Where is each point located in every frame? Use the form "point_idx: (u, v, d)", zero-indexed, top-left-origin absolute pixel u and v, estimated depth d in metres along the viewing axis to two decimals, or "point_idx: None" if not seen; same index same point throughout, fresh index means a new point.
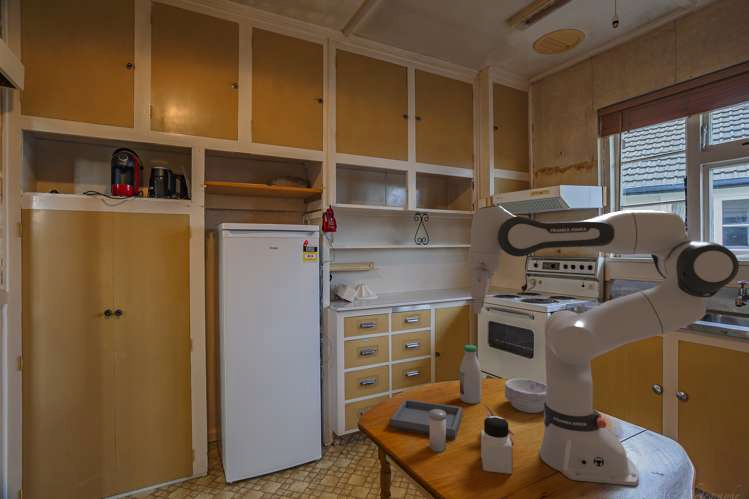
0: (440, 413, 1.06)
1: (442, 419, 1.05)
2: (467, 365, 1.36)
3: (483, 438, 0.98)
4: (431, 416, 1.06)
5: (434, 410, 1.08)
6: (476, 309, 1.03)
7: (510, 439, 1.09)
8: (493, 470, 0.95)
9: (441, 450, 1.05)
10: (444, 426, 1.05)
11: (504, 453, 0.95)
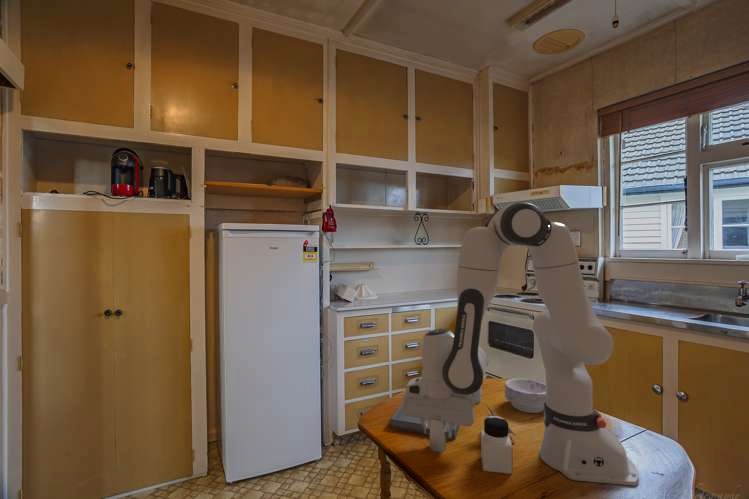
0: None
1: None
2: None
3: (483, 438, 0.98)
4: (431, 416, 1.06)
5: None
6: (450, 433, 1.05)
7: (511, 438, 1.09)
8: (493, 470, 0.95)
9: (441, 450, 1.05)
10: (444, 426, 1.05)
11: (504, 453, 0.95)
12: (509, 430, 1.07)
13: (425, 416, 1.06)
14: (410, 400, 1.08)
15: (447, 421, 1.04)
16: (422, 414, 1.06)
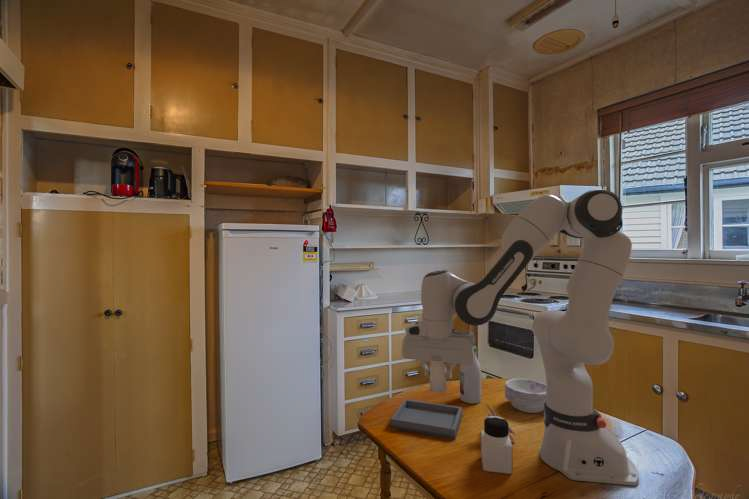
0: None
1: None
2: (467, 365, 1.36)
3: (483, 438, 0.98)
4: (431, 357, 1.05)
5: None
6: (451, 374, 1.05)
7: (511, 438, 1.09)
8: (493, 470, 0.95)
9: (441, 391, 1.04)
10: (444, 367, 1.05)
11: (504, 453, 0.95)
12: (509, 430, 1.07)
13: (425, 357, 1.06)
14: (409, 343, 1.07)
15: (447, 361, 1.04)
16: (422, 356, 1.06)
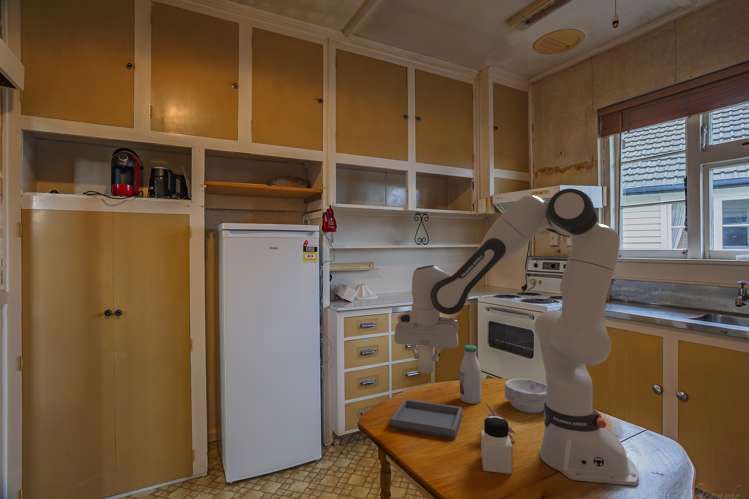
0: None
1: None
2: (467, 365, 1.36)
3: (483, 438, 0.98)
4: (420, 342, 1.18)
5: None
6: (437, 357, 1.18)
7: (511, 438, 1.09)
8: (493, 470, 0.95)
9: (429, 372, 1.17)
10: (431, 351, 1.18)
11: (504, 453, 0.95)
12: (510, 429, 1.07)
13: (415, 342, 1.19)
14: (401, 329, 1.20)
15: (434, 345, 1.17)
16: (412, 341, 1.19)
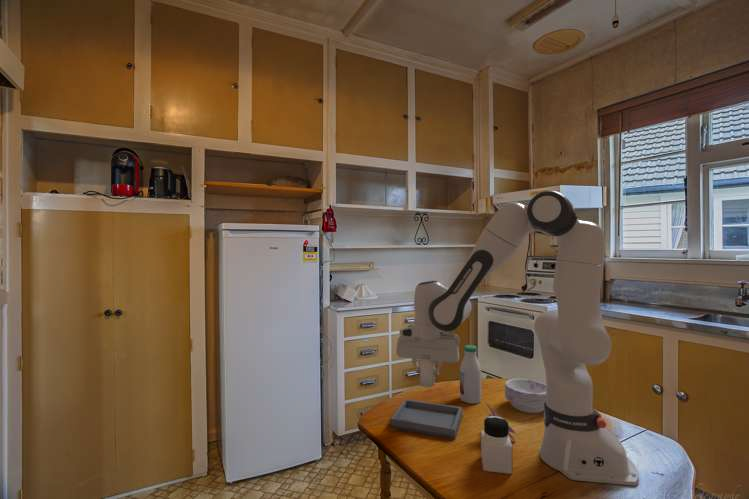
0: None
1: None
2: (467, 365, 1.36)
3: (483, 438, 0.98)
4: None
5: None
6: (438, 371, 1.20)
7: (511, 437, 1.10)
8: (493, 470, 0.95)
9: (430, 385, 1.20)
10: (433, 365, 1.20)
11: (504, 453, 0.95)
12: (510, 429, 1.07)
13: (416, 356, 1.21)
14: (403, 343, 1.23)
15: (435, 360, 1.19)
16: (414, 354, 1.21)
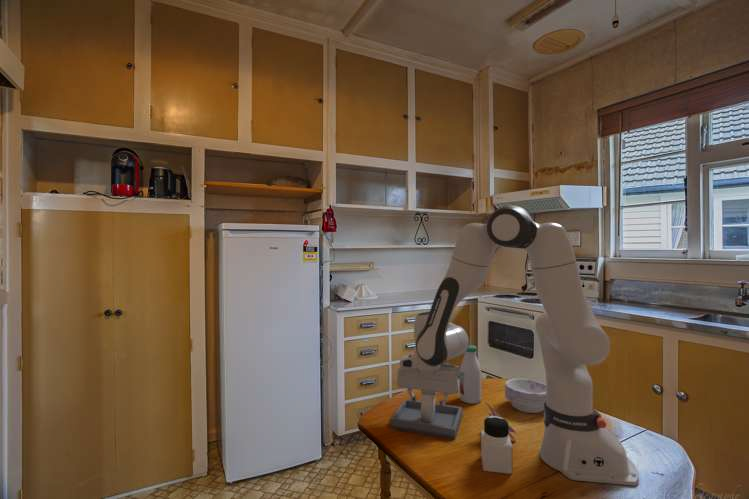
0: None
1: (432, 393, 1.20)
2: (467, 365, 1.36)
3: (483, 438, 0.98)
4: (422, 391, 1.21)
5: None
6: (444, 402, 1.20)
7: (512, 437, 1.10)
8: (493, 470, 0.95)
9: (431, 421, 1.20)
10: (434, 400, 1.20)
11: (504, 453, 0.95)
12: (510, 429, 1.08)
13: (417, 387, 1.21)
14: (403, 373, 1.23)
15: (436, 391, 1.19)
16: (414, 385, 1.22)
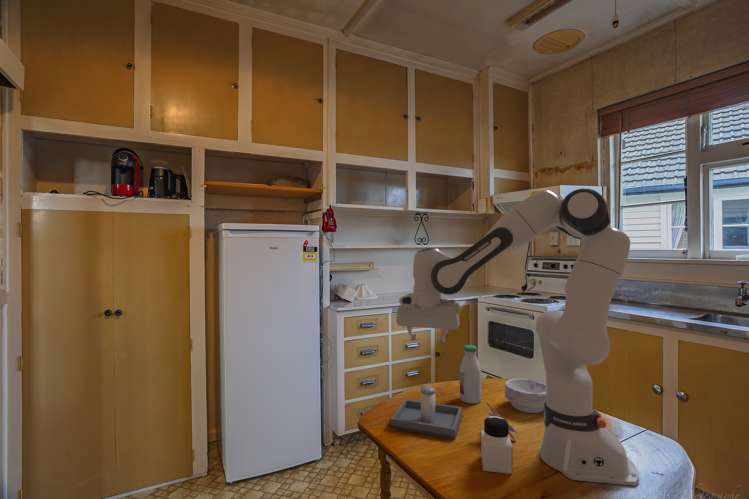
0: (430, 389, 1.21)
1: (432, 394, 1.20)
2: (467, 365, 1.36)
3: (483, 438, 0.98)
4: (422, 391, 1.21)
5: (425, 386, 1.23)
6: (444, 339, 1.19)
7: (512, 437, 1.10)
8: (493, 470, 0.95)
9: (431, 421, 1.20)
10: (433, 400, 1.20)
11: (504, 453, 0.95)
12: (511, 428, 1.08)
13: (416, 324, 1.21)
14: (403, 311, 1.22)
15: (435, 326, 1.19)
16: (414, 322, 1.21)
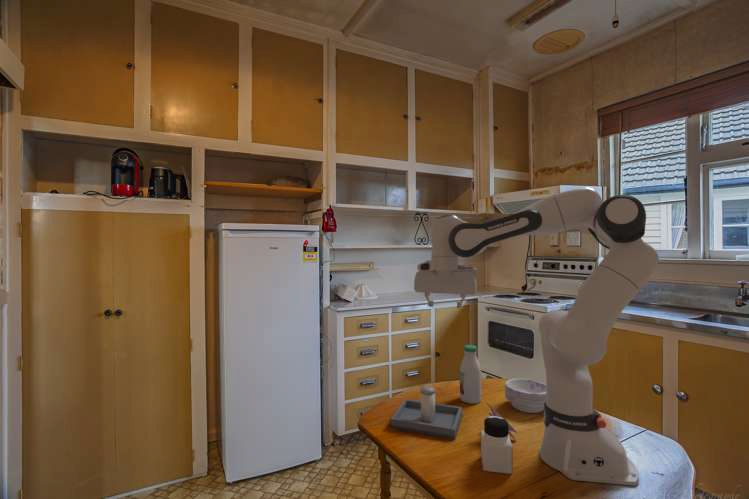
0: (430, 389, 1.21)
1: (431, 394, 1.20)
2: (467, 365, 1.36)
3: (483, 438, 0.98)
4: (422, 391, 1.21)
5: (425, 386, 1.23)
6: (461, 304, 1.21)
7: (512, 436, 1.10)
8: (493, 470, 0.95)
9: (431, 421, 1.20)
10: (433, 400, 1.20)
11: (504, 453, 0.95)
12: (511, 428, 1.08)
13: (434, 290, 1.23)
14: (421, 278, 1.24)
15: (453, 292, 1.21)
16: (431, 288, 1.23)
